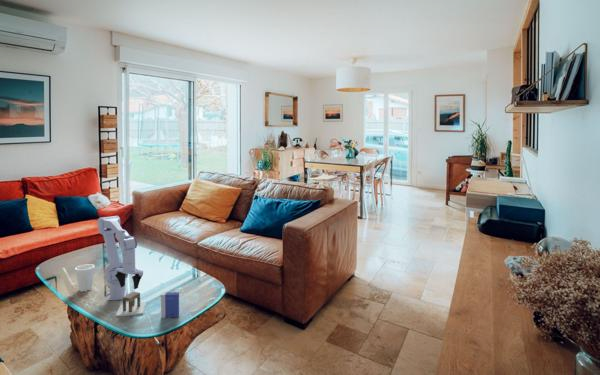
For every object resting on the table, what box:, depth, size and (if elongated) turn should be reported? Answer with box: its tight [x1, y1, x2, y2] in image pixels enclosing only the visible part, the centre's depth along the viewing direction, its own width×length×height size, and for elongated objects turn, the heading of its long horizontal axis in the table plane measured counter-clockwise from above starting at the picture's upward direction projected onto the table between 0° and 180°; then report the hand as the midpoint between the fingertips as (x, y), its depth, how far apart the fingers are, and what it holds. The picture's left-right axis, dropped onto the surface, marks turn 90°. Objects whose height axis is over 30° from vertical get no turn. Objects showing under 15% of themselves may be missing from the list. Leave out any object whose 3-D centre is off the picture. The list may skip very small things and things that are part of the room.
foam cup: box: [74, 263, 96, 292], centre depth 193 cm, size 10×9×13 cm
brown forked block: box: [122, 291, 141, 312], centre depth 172 cm, size 4×7×7 cm, turn 167°
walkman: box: [160, 291, 180, 319], centre depth 167 cm, size 8×3×12 cm, turn 96°
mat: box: [115, 301, 148, 318], centre depth 173 cm, size 12×12×1 cm
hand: (129, 287), depth 175 cm, fingers open, 7 cm apart
